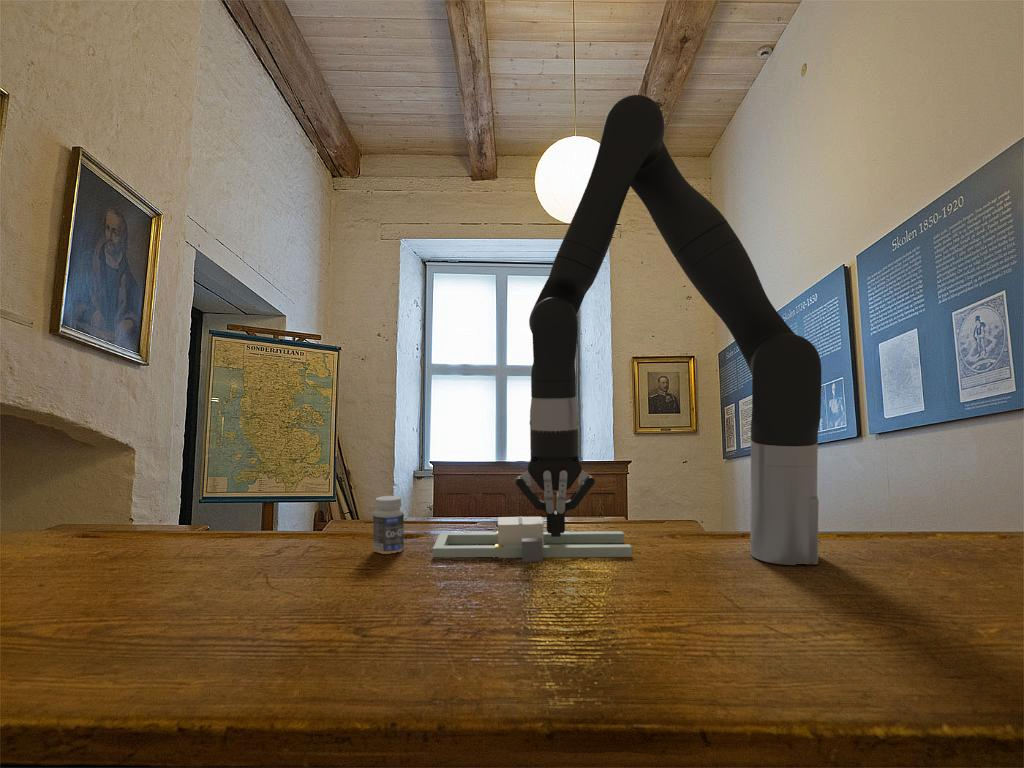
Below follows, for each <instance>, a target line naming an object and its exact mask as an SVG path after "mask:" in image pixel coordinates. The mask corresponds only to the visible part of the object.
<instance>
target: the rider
mask: <svg viewBox="0 0 1024 768" xmlns="http://www.w3.org/2000/svg"><path fill="white" fill-rule="evenodd" d="M497 531H498V544H503V545H522V538H542V545H545V543H544V537H543V532H544V522H543V517H542V516H522V515H520V516H501V517H500V516H498V517H497Z"/></svg>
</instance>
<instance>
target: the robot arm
mask: <svg viewBox="0 0 1024 768" xmlns="http://www.w3.org/2000/svg"><path fill="white" fill-rule="evenodd" d="M602 128H603V130H602V135H601V138H600V144H599V146H598V152H597V154H596V158H595V160H594V164H593V166H592V167H593V168H592V171H591V174H590V176H589V177H588V178H589V179H588V182H587V183H586V184H587V185H586V187H585V190H584V191H583V194H582V197H581V199H580V201H579V203H578V206H577V208H576V210H575V213H574V215H573V217H572V219H571V221H570V223H569V226H568V228H567V229H566V230H567V231H566V233H565V234H564V237H563V240H562V242H561V244H560V247H558V251H557V253H556V256H555V258H554V261H553V263H552V265H551V266H552V267H551V270H550V272H549V275H548V277H547V279H546V282H545V283H544V286H543V287H542V289H541V291H540V293H539V295H538V297H537V299H536V301H535V304H534V305H533V308H532V309H531V313H530V314H529V319H528V322H529V323H528V325H529V329H530V332H531V334H532V354H533V355H532V356H533V363H532V366H531V371H530V372H531V373H530V374H531V375H530V389H531V390H530V392H531V393H530V396H531V398H530V399H531V400H530V401H531V402H530V410H529V430H530V431H529V432H530V433H529V435H530V436H529V438H530V439H529V440H530V441H529V442H530V460H529V463H528V465H527V470H526V471H525V472H523V473H522V474H521V475H517V476H516V477H515V485H516V486H517V487H518V488H519V490H520V491H521V493H522V494H523V495H524V496H525V497H526V498H527V499H528V501H529V502H530V503H531V504H532V506H533V507H534V508H535V509H536V510H538V511H543V512H545V513H546V518H545V519H546V532H548V533H551V537H561V533H564V532H566V523H565V522H566V518H565V517H566V513H567V512H568V511H570V510H575V509H576V508H577V507H578V505H579V504H580V503H581V501H582V500H583V499H584V498H585V496H586V495H587V494H588V492H589V491H590V490H591V488H592V487H593V486H594V484H595V483H596V480H595V478H594V476H593V475H591V474H588V473H587V472H585V471H584V470H583V466H582V464H581V462H580V459H579V458H580V457H579V424H580V422H579V411H578V410H579V409H578V405H577V404H578V402H577V376H576V357H577V356H576V355H577V347H578V334H579V332H578V331H579V329H578V328H579V327H578V323H579V322H578V312H579V311H580V308H581V306H582V303H583V301H584V298H585V296H586V294H587V292H588V291H589V289H591V287H592V285H593V284H594V282H595V280H596V278H597V276H598V273H599V271H600V268H601V267H602V264H603V262H604V260H605V257H606V255H607V253H608V250H609V247H610V245H611V243H612V240H613V236H614V233H615V231H616V227H617V224H618V221H619V218H620V214H621V212H622V208H623V205H624V203H625V200H626V198H627V196H628V192H629V190H630V188H631V189H632V191H634V193H635V194H636V195H637V197H638V198H639V199H640V201H641V202H642V204H643V205H644V207H646V209H647V210H646V211H648V213H649V215H650V217H651V219H652V221H653V222H654V224H655V226H656V228H657V230H658V231H659V233H660V235H661V237H662V238H663V240H664V242H665V243H666V245H667V246H668V248H669V251H670V252H671V254H672V255H673V257H674V258H675V260H676V262H677V263H678V264H679V266H680V268H681V269H682V271H683V272H684V274H685V275H686V277H687V278H688V279H689V281H690V282H691V283H692V285H693V286H694V287H695V289H696V291H698V293H699V294H700V295H701V297H702V298H703V299H704V300H705V302H706V303H707V304H708V305H709V307H710V308H711V309H712V310H713V311H714V312H715V314H716V315H717V316H718V317H719V318H720V320H721V321H722V322H723V323H724V324H725V326H726V328H727V329H728V330H729V333H730V334H731V336H732V338H733V339H734V342H735V343H736V345H737V347H738V348H739V350H740V352H741V354H742V357H743V358H744V360H745V362H746V364H747V366H748V369H749V371H750V374H751V378H752V380H751V381H752V384H751V393H752V394H751V398H752V399H751V422H750V537H749V538H750V539H749V540H750V542H749V543H750V550H749V551H750V555H751V556H752V557H753V558H755V559H757V560H759V561H762V562H765V563H771V564H776V565H785V566H786V565H787V566H797V565H796V564H805V563H817V564H818V565H819V498H818V457H819V455H818V453H819V452H818V449H819V448H818V446H819V445H818V441H819V440H818V439H819V438H818V437H819V429H820V424H821V412H822V411H821V410H822V408H821V406H822V361H821V357H820V354H819V351H818V349H817V347H815V345H814V344H813V343H812V342H810V340H808V339H807V338H805V337H803V336H801V335H798V334H796V333H795V332H794V331H793V330H792V329H791V328H790V327H789V325H788V324H787V323H786V321H785V320H784V319H783V317H782V316H781V314H779V313H778V311H777V310H776V309H775V306H773V303H772V302H771V301H770V300H769V297H768V295H767V294H766V291H765V289H764V287H763V285H762V282H761V280H760V278H759V275H758V273H757V270H756V269H755V266H754V264H753V262H752V260H751V258H750V256H749V254H748V252H747V250H746V248H745V247H744V245H743V243H742V242H741V240H740V239H739V237H738V235H737V234H736V232H735V231H734V229H733V228H732V226H731V225H730V224H729V222H728V220H727V219H726V218H725V217H724V215H723V214H722V213H721V212H720V210H719V209H718V208H717V207H716V206H715V205H714V204H713V203H712V202H710V201H709V199H707V198H706V197H705V196H704V195H703V194H701V193H700V192H699V191H698V190H697V189H696V188H695V187H694V186H692V185H691V184H690V183H689V182H688V181H687V179H685V177H684V175H683V174H682V173H681V171H680V170H679V169H678V167H677V166H676V164H675V162H674V160H673V158H672V156H671V155H670V153H669V151H668V149H667V147H666V144H665V141H664V135H665V118H664V115H663V111H662V110H661V108H660V106H659V104H658V103H656V101H655V100H653V99H652V98H650V97H648V96H645V95H641V94H632V95H627V96H626V97H623V98H621V99H620V100H618V101H617V102H616V103H615V104H613V106H611V108H610V110H609V111H608V113H607V114H606V117H605V119H604V123H603V127H602ZM531 478H532V479H533V481H534V482H535V483H536V485H537V486H538V488H540V489H541V490H542V491H543V492H544V500H543V499H541V498H540V497H539V496H538V494H536V492H535V491H534V489H532V487H531V485H532V480H531ZM577 479H578V480H577ZM576 480H577V481H578V484H579V485H578V486H577V488H576V489H575V491H574V492H573V494H571V496H570V497H569V498H568V500H567V491H568V490H569V489H570V488H571V487H572V486H573V485H574V483H575V482H576ZM554 491H556V505H554V504H555V503H554V496H553V495H554V494H553V493H554ZM555 506H556V510H555Z"/></svg>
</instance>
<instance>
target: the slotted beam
mask: <svg viewBox="0 0 1024 768" xmlns="http://www.w3.org/2000/svg"><path fill="white" fill-rule="evenodd" d="M624 535H625V534H624V532H623V531H621V530H620V531H619V530H617V531H613V530H612V531H611V530H610V531H564V533H561V537H551V533H548V532H547V531H543V537H544V545H542V538H522V545H503V548H495V544H498V535H497V531H493V532H492V531H490V532H487V531H485V532H484V531H483V532H482V531H481V532H478V531H477V532H440V533H439V534H438V535H437V539H436V541H435V543H434V544H433V547H432V558H433V557H493V558H492V559H496V558H495V557H498V558H497V559H499V558H500V559H508V558H509V559H513V558H514V559H515V558H516V559H518V558H519V559H521V558H522V559H521V561H522V563H524V562H526V563H530V562H531V563H533V562H537V563H538V562H543V559H545V558H549V559H550V558H632V554H633V553H632V551H633V550H632V546H631V544H628V543H627V544H626V543H625V536H624ZM493 544H494V545H493Z"/></svg>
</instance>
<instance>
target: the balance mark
mask: <svg viewBox="0 0 1024 768" xmlns="http://www.w3.org/2000/svg"><path fill="white" fill-rule="evenodd" d="M496 532H497V535H498V530H497V531H496ZM494 545H495V548H503V544H494Z"/></svg>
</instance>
